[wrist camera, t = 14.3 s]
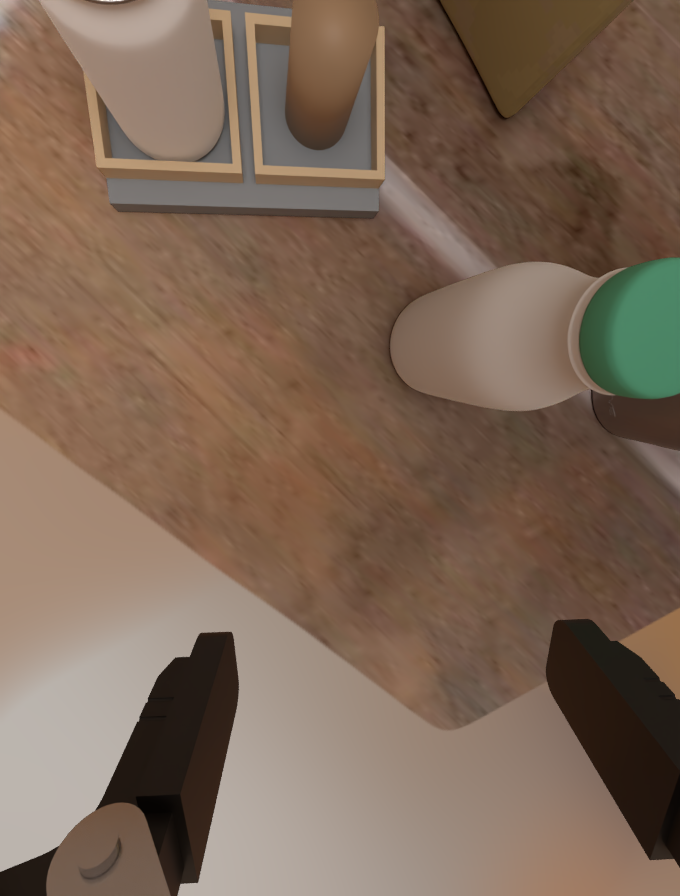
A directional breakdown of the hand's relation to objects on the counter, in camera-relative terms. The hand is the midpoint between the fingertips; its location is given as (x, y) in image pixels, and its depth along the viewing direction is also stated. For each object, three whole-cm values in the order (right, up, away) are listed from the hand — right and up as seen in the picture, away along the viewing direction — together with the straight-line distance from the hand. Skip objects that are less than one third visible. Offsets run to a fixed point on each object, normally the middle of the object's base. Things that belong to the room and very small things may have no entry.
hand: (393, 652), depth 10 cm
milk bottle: (+6, +13, +22) cm, 27 cm away
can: (-12, +26, +15) cm, 32 cm away
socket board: (-8, +27, +17) cm, 32 cm away
